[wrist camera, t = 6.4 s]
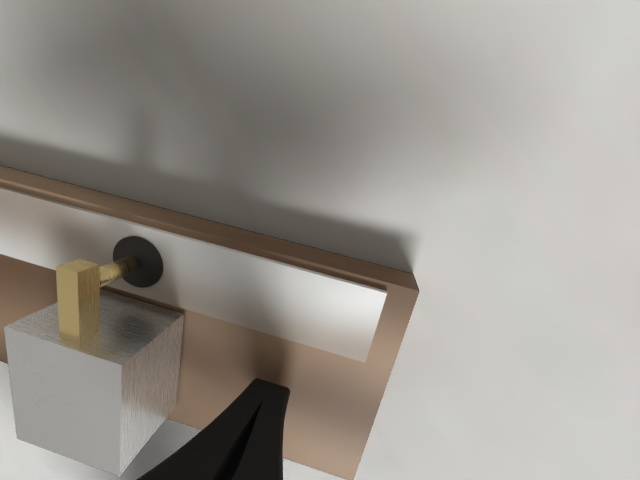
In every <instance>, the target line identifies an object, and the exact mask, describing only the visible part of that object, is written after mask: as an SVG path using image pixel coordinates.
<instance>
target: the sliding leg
mask: <svg viewBox="0 0 640 480" xmlns="http://www.w3.org/2000/svg"><path fill="white" fill-rule="evenodd" d="M136 270H137V263H136V261H135V260H134V259H133V258H131V257H125V258H122V259H120V260H117V261H115V262H112V263H110V264H107V265H104V266H102V267H99V264H97V263H93V262H90V261H86V260H83V259H76V260H73V261H70V262H67V263H64V264H61V265H58V266H56V281H57V299H58V302H57V303H55V304H53V305H51V306H49V307H46V308H44V309H42V310H40V311H38V312H35V313H33V314H31V315H29V316H26V317H24V318H22V319H20V320H18V321H15V322H13V323H11V324H9V325H7V326H4V332H5V341H6V349H7V357H8V366H9V374H10V383H11V391H12V400H13V408H14V417H15V425H16V434H17V439H20V440H22V441H25V442H28V443H30V444H33V445H36V446H39V447H41V448H44V449H47V450H49V451H52V452H55V453H57V454H60V455H63V456H65V457H68V458H71V459H74V460H76V461H79V462H82V463H84V464H87V465H90V466H92V467H95V468H98V469H100V470H103V471H106V472H109V473H111V474H114V475H117V476H119V477H120V475H121V474H122V473H123V471H124V470H125V469H126V468H127V466H128V465H129V464H130V463H131V461H132V460H133V459H134V458H135V456H136V455H137V454H138V453H139V451H140V450H141V449H142V448H143V446H144V445H145V444H146V443H147V441H148V440H149V439H150V438H151V436H152V435H153V434H154V433H155V431H156V430H157V429H158V428H159V426H160V425H161V424H162V423H163V421H164V420H165V419H166V418H167V416H168V415H169V414H170V413H171V411H172V410H173V409H174V408H175V406H176V400H177V389H178V378H179V367H180V356H181V345H182V334H183V323H184V314H183V313H179V312H176V311H173V310H169V309H166V308H163V307H159V306H156V305H153V304H149V303H146V302H143V301H139V300H136V299H133V298H129V297H126V296H123V295H119V294H116V293H113V292H110V291H106V290H103V289H100V288H101V287H103V286H105V285H107V284H109V283H111V282H114V281H116V280H118V279H120V278H122V277H124V276H126V275H128V274H130V273H133V272H135V271H136Z"/></svg>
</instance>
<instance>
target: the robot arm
mask: <svg viewBox="0 0 640 480" xmlns="http://www.w3.org/2000/svg"><path fill="white" fill-rule="evenodd" d="M289 396H290V390H289V388H288V387H285V386H281V385H278V384H275V383H271V382H268V381H265V380H262V379H258V378H256V379H254V380H253V381H252V382H251V383H250V384H249V385H248V386H247V388H246V389H245V390H244V391H243V392H242V393H241V394H240V395H239V396H238V397H237V398H236V399H235V400H234V401H233V402H232V403H231V404H230V405H229V406H228V407H227V408H226V409H225V410H224V411H223V412H222V413H221V414H220V415H219V416H217V417H216V418H215V419H214V420H213V421H212V422H211V423H210V424H209V425H208V426H206V427H205V428H204V429H203V430H202V431H201V432H199V433H198V434H197V435H196V436H195V437H193V438H192V439H191V440H190V441H189V442H188V443H186V444H185V445H184V446H182V447H181V448H180V449H179V450H177V451H176V452H175V453H174V454H172V455H171V456H170V457H168V458H167V459H165V460H164V461H163V462H161V463H160V464H159V465H157V466H156V467H154V468H153V469H152V470H150V471H149V472H147V473H146V474H144V475H143V476H141V477H140V478H138V479H137V480H283V430H284V419H285V414H286V410H287V405H288V400H289Z"/></svg>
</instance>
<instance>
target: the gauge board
mask: <svg viewBox="0 0 640 480" xmlns="http://www.w3.org/2000/svg"><path fill="white" fill-rule="evenodd" d="M125 257H131V258H133V259H134V260H135V261H136V263H137V270H136V271H135V272H133V273H130V274H128V275H126V276H124V277H122V278H120V279H118V280H116V281H114V282H111V283H109V284H107V285H105V286H103V287H101V288H100V289H103V290H106V291H110V292H113V293H116V294H119V295H123V296H126V297H129V298H133V299H136V300H139V301H143V302H146V303H149V304H153V305H156V306H159V307H163V308H166V309H169V310H173V311H176V312H179V313H183V314H184V323H183V334H182V345H181V356H180V367H179V378H178V389H177V400H176V406H175V408H174V409H173V410H172V411H171V413H170V414H169V415H168V416H167V418H168V419H171V420H174V421H177V422H180V423H183V424H185V425H188V426H191V427H194V428H197V429H200V430H203V429H204V428H205V427H206V426H208V425H209V424H210V423H211V422H212V421H213V420H214V419H215V418H216V417H217V416H219V415H220V414H221V413H222V412H223V411H224V410H225V409H226V408H227V407H228V406H229V405H230V404H231V403H232V402H233V401H234V400H235V399H236V398H237V397H238V396H239V395H240V394H241V393H242V392H243V391H244V390H245V389H246V388H247V386H248V385H249V384H250V383H251V382H252V381H253V380H254V379H256V378H258V379H262V380H265V381H268V382H271V383H275V384H278V385H281V386H285V387H288V388H289V390H290V396H289V400H288V405H287V410H286V414H285V419H284V430H283V458H285V459H288V460H291V461H294V462H296V463H299V464H302V465H305V466H308V467H311V468H314V469H317V470H320V471H323V472H326V473H329V474H332V475H334V476H337V477H340V478H343V479H346V480H354V477H355V474H356V471H357V468H358V465H359V462H360V460H361V457H362V454H363V451H364V448H365V445H366V442H367V440H368V437H369V434H370V431H371V428H372V425H373V422H374V420H375V417H376V414H377V411H378V408H379V405H380V402H381V400H382V397H383V394H384V391H385V388H386V385H387V382H388V380H389V377H390V374H391V371H392V368H393V365H394V362H395V360H396V357H397V354H398V351H399V348H400V345H401V342H402V340H403V337H404V334H405V331H406V328H407V325H408V322H409V320H410V317H411V314H412V311H413V308H414V305H415V302H416V300H417V297H418V294H419V288H418V286H417V283H416V280H415V277H414V274H411V273H407V272H403V271H399V270H396V269H392V268H388V267H384V266H380V265H377V264H373V263H369V262H365V261H361V260H357V259H354V258H350V257H346V256H342V255H338V254H335V253H331V252H327V251H323V250H319V249H316V248H312V247H308V246H304V245H300V244H297V243H293V242H289V241H285V240H281V239H278V238H274V237H270V236H266V235H262V234H259V233H255V232H251V231H247V230H243V229H240V228H236V227H232V226H228V225H224V224H221V223H217V222H213V221H209V220H205V219H201V218H198V217H194V216H190V215H186V214H182V213H179V212H175V211H171V210H167V209H163V208H160V207H156V206H152V205H148V204H144V203H141V202H137V201H133V200H129V199H125V198H122V197H118V196H114V195H110V194H106V193H103V192H99V191H95V190H91V189H87V188H84V187H80V186H76V185H72V184H68V183H65V182H61V181H57V180H53V179H49V178H45V177H42V176H38V175H34V174H30V173H26V172H23V171H19V170H15V169H11V168H7V167H4V166H0V361H1V362H4V363H7V364H8V357H7V349H6V341H5V332H4V326H7V325H9V324H11V323H13V322H15V321H18V320H20V319H22V318H24V317H26V316H29V315H31V314H33V313H35V312H38V311H40V310H42V309H44V308H46V307H49V306H51V305H53V304H55V303H57V302H58V299H57V281H56V266H58V265H61V264H64V263H67V262H70V261H73V260H76V259H83V260H86V261H90V262H93V263H97V264H99V267H102V266H104V265H107V264H110V263H112V262H115V261H117V260H120V259H122V258H125Z"/></svg>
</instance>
